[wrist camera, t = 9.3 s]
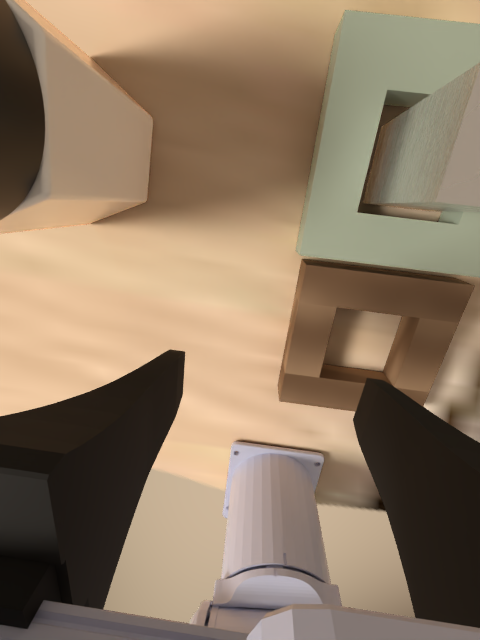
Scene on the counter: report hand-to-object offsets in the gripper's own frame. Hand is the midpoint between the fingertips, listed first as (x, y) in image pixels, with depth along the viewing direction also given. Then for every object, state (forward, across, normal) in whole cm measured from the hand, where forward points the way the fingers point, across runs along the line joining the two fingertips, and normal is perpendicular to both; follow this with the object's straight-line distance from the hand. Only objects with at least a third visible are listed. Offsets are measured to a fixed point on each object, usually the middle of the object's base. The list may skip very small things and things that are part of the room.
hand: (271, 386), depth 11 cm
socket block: (+10, -7, +1) cm, 12 cm away
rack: (+10, -7, -10) cm, 15 cm away
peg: (+10, -7, -10) cm, 15 cm away
